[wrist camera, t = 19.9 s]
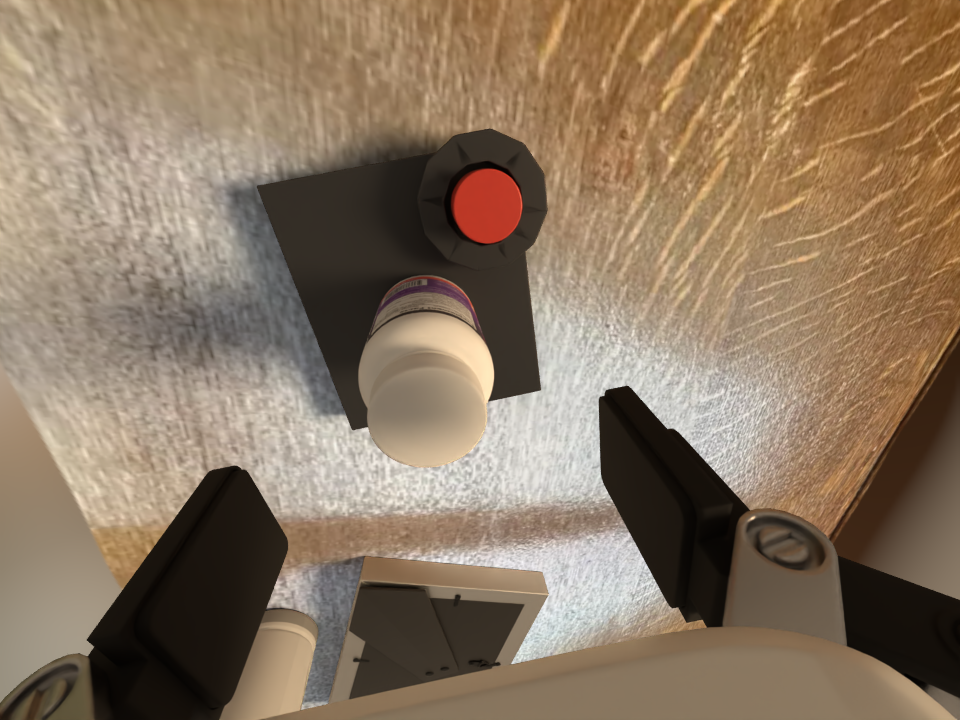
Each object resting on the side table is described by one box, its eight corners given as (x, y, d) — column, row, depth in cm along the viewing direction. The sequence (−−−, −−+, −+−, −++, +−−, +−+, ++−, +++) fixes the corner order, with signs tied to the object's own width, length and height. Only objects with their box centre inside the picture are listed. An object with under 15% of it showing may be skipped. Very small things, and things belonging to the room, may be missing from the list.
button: (444, 175, 17) (446, 176, 16) (510, 163, 18) (518, 162, 16) (457, 243, 19) (460, 249, 17) (518, 231, 19) (526, 236, 17)
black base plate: (267, 175, 19) (236, 175, 16) (522, 127, 20) (540, 119, 17) (357, 413, 26) (347, 447, 23) (547, 373, 26) (563, 400, 23)
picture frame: (364, 555, 32) (329, 696, 40) (359, 589, 29) (322, 732, 37) (542, 571, 35) (477, 697, 43) (551, 602, 33) (480, 730, 41)
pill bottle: (459, 374, 23) (478, 495, 15) (367, 352, 22) (329, 470, 13) (488, 289, 21) (531, 370, 13) (390, 259, 20) (361, 326, 11)
